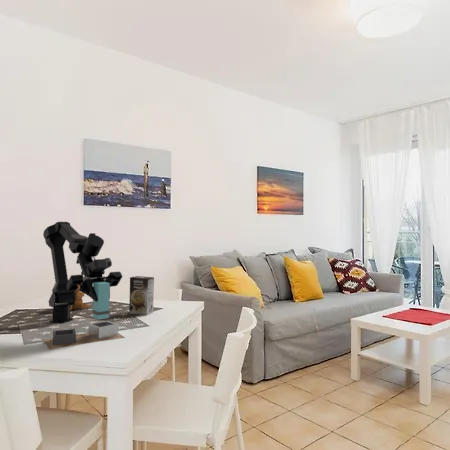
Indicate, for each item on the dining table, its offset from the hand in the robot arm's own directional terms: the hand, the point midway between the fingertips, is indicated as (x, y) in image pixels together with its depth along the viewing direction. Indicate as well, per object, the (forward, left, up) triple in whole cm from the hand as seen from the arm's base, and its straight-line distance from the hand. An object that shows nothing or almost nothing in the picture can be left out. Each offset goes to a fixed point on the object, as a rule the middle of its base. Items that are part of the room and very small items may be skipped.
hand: (103, 300), depth 135 cm
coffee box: (-40, -8, -14) cm, 43 cm away
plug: (-1, -1, -6) cm, 6 cm away
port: (-1, -1, -13) cm, 13 cm away
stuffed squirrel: (-36, -42, -14) cm, 57 cm away
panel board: (+4, -5, -13) cm, 15 cm away
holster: (+9, -9, -13) cm, 18 cm away
